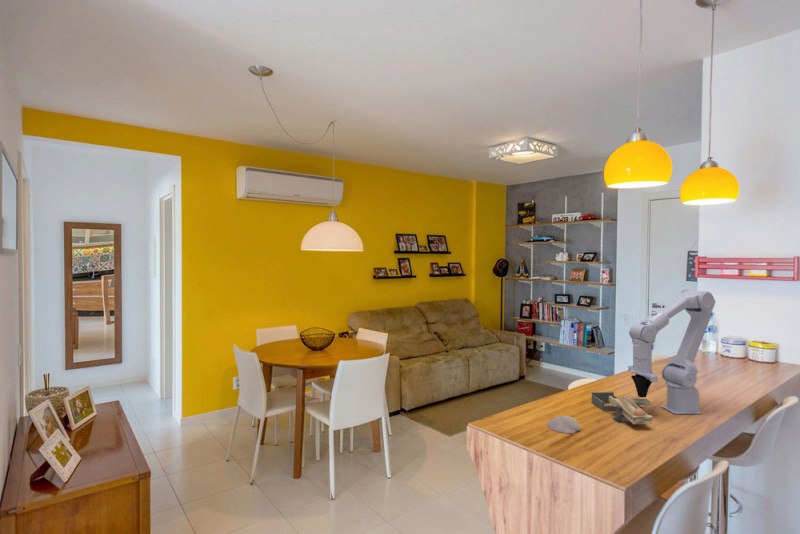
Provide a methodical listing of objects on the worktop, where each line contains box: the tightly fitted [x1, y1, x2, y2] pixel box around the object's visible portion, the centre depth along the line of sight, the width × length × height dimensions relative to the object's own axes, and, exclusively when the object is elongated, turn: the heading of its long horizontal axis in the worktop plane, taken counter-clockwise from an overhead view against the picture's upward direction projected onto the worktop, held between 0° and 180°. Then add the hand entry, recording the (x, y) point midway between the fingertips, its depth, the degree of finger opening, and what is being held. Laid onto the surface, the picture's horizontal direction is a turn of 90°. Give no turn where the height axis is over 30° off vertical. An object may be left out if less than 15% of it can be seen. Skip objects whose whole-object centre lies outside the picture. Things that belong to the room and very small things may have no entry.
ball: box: [634, 408, 645, 416], centre depth 140 cm, size 3×3×3 cm
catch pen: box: [591, 391, 619, 412], centre depth 160 cm, size 8×9×4 cm
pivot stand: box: [612, 405, 644, 424], centre depth 146 cm, size 9×4×5 cm, turn 91°
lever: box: [609, 395, 653, 425], centre depth 146 cm, size 13×16×2 cm
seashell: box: [546, 415, 581, 434], centre depth 141 cm, size 10×6×10 cm
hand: (642, 396), depth 152 cm, fingers closed
